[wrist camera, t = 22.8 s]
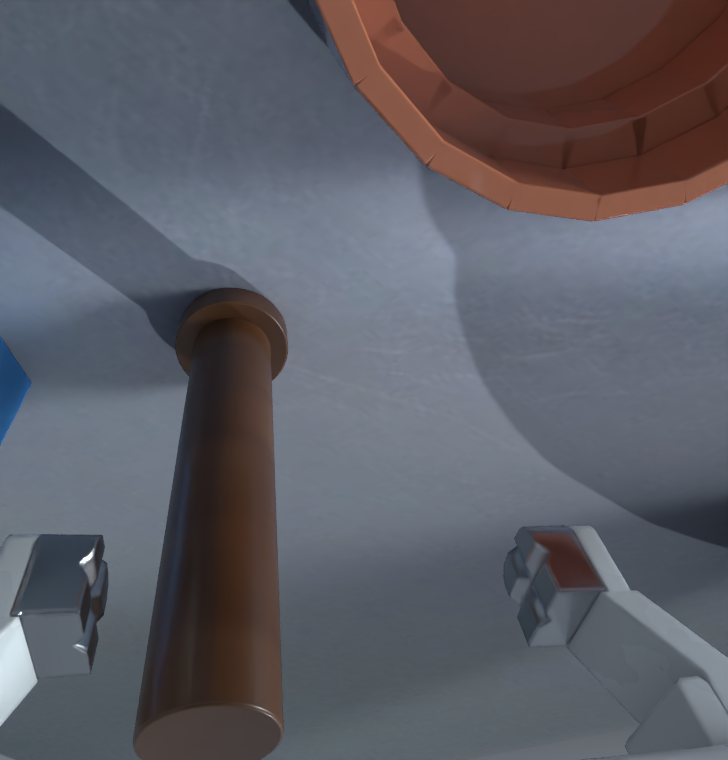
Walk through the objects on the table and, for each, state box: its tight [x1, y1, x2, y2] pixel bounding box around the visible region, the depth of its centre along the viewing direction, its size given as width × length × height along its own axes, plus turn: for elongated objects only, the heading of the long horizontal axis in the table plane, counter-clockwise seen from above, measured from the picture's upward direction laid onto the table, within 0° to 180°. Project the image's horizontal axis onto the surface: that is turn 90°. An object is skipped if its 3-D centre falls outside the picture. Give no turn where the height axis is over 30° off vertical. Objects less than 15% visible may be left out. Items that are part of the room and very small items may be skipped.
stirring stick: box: [133, 288, 288, 760], centre depth 19 cm, size 4×4×16 cm
